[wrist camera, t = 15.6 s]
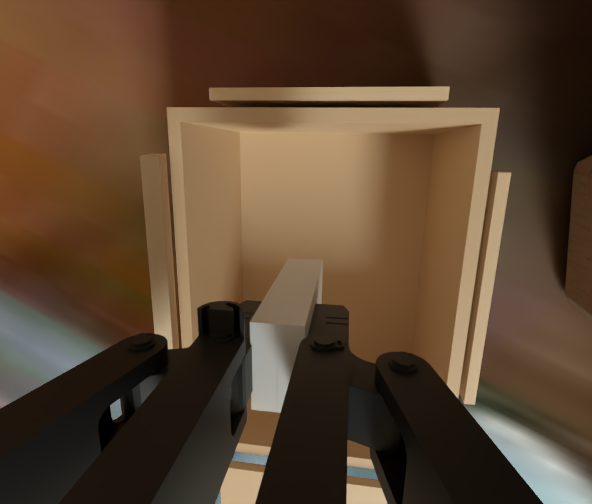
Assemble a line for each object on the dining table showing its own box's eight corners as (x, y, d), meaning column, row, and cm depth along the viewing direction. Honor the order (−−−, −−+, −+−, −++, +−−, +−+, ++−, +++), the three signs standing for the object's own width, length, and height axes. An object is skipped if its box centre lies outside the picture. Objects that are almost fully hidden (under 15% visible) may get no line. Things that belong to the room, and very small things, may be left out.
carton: (230, 111, 26) (161, 87, 17) (457, 112, 24) (525, 86, 15) (236, 355, 31) (185, 445, 22) (426, 373, 29) (462, 480, 20)
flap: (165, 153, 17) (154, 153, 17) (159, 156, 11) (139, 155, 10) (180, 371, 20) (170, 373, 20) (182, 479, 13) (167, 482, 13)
